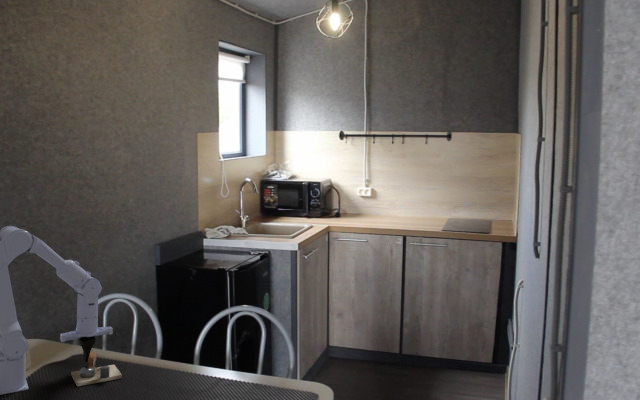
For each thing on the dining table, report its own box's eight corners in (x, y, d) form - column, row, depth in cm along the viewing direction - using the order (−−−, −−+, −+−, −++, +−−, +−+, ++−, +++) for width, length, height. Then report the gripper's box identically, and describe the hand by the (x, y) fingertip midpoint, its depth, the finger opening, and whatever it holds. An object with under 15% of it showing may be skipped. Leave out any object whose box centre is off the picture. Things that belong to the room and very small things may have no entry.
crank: (94, 377, 152) (94, 365, 152) (78, 378, 151) (79, 366, 151) (100, 362, 163) (100, 351, 163) (86, 363, 163) (86, 352, 162)
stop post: (101, 378, 152) (101, 369, 152) (99, 375, 154) (99, 367, 154) (110, 377, 153) (110, 368, 153) (108, 374, 155) (108, 365, 155)
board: (77, 386, 149) (77, 382, 149) (71, 375, 156) (71, 371, 156) (121, 378, 155) (121, 374, 155) (114, 367, 163) (114, 364, 163)
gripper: (64, 323, 152) (63, 370, 153) (116, 316, 161) (115, 360, 162) (58, 317, 158) (57, 362, 159) (109, 310, 167) (108, 353, 168)
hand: (86, 360), depth 161 cm, fingers closed, pressing on crank
